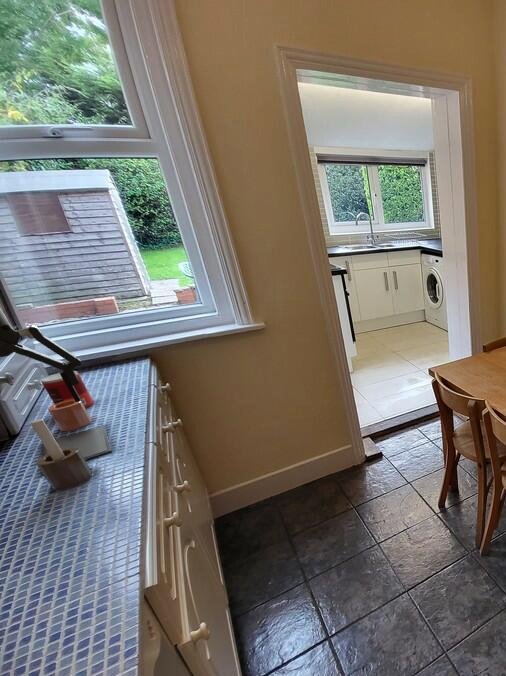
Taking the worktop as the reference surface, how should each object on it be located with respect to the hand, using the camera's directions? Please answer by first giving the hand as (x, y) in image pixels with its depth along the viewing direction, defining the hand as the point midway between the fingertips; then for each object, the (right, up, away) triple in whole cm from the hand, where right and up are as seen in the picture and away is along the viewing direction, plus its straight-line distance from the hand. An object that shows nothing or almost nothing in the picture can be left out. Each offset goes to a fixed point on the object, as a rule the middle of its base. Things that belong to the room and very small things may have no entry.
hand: (32, 412), depth 83 cm
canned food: (-36, -2, +43) cm, 56 cm away
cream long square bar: (+1, -15, +7) cm, 17 cm away
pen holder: (-24, -6, +32) cm, 40 cm away
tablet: (-12, -11, +20) cm, 26 cm away
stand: (+1, -16, +7) cm, 18 cm away
